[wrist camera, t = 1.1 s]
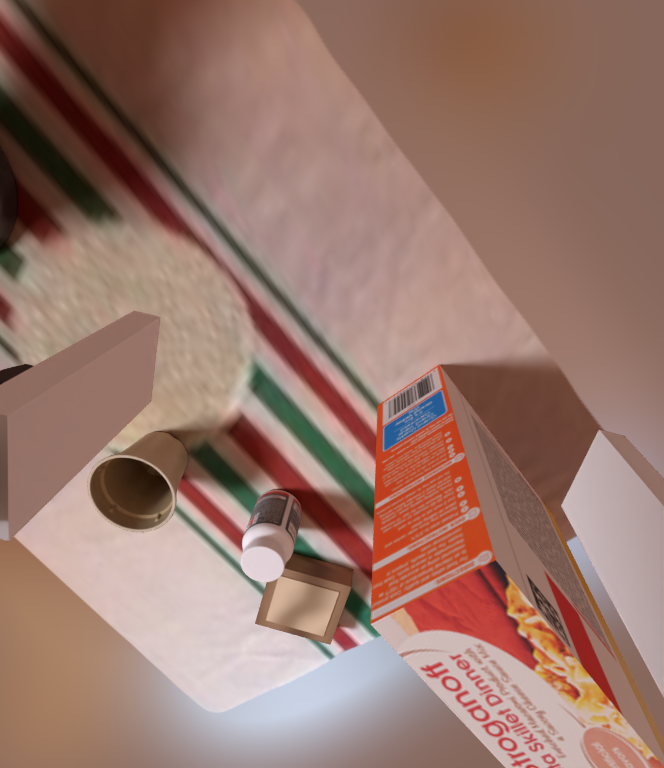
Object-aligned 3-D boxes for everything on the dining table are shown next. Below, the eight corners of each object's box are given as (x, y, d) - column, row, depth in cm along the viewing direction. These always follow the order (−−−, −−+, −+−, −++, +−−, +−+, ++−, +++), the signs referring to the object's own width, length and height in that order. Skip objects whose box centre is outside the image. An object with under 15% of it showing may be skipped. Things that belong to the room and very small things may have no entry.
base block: (260, 605, 69) (254, 624, 66) (276, 548, 66) (271, 565, 63) (332, 625, 70) (330, 645, 67) (352, 569, 66) (351, 588, 63)
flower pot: (167, 403, 59) (134, 439, 51) (218, 465, 62) (193, 509, 54) (109, 441, 62) (68, 481, 54) (159, 499, 65) (128, 545, 57)
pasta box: (377, 405, 57) (370, 624, 29) (439, 364, 55) (495, 560, 27) (491, 546, 63) (576, 843, 35) (552, 514, 60) (696, 806, 32)
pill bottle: (247, 512, 64) (225, 568, 55) (270, 479, 62) (250, 532, 53) (287, 535, 65) (271, 594, 56) (311, 503, 63) (299, 560, 53)
